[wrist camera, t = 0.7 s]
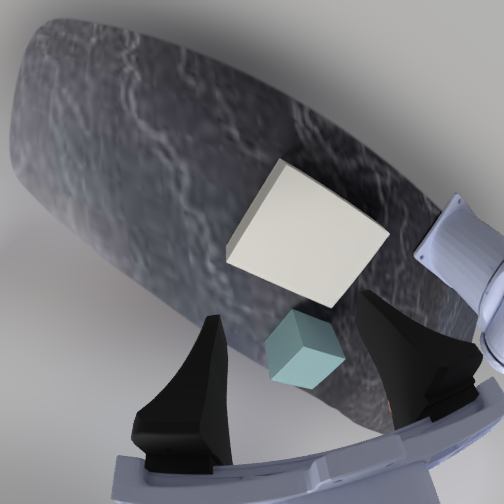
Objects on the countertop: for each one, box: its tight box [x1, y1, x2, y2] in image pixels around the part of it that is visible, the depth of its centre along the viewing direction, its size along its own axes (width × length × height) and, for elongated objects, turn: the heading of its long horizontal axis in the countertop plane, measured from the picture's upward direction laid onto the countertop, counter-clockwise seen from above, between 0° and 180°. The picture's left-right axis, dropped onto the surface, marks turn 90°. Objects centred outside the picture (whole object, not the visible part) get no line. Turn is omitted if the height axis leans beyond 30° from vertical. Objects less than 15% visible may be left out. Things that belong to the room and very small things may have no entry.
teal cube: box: [264, 309, 345, 389], centre depth 26 cm, size 5×5×5 cm
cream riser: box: [226, 158, 390, 308], centre depth 21 cm, size 10×8×2 cm
